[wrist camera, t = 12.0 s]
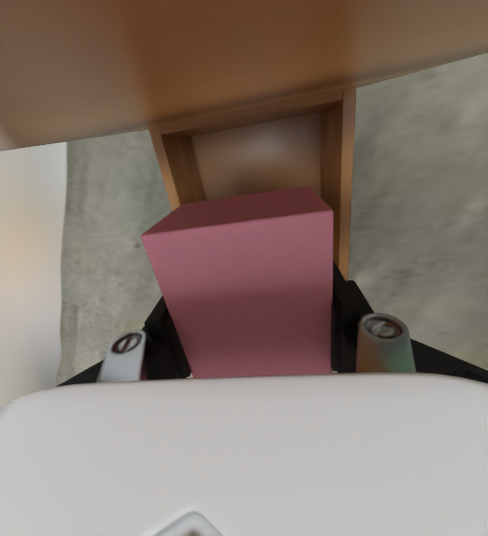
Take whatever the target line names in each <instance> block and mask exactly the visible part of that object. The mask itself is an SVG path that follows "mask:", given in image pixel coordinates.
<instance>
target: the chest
mask: <svg viewBox="0 0 488 536" xmlns="http://www.w3.org/2000/svg"><path fill="white" fill-rule="evenodd" d="M355 104H356V88H354V89H349V90H344V91H339V92H334V93H329V94H324V95H319V96H314V97H309V98H304V99H299V100H294V101H289V102H284V103H279V104H274V105H269V106H264V107H259V108H254V109H249V110H243V111H238V112H233V113H228V114H223V115H218V116H213V117H208V118H203V119H198V120H193V121H188V122H183V123H178V124H173V125H168V126H163V127H158V128H153V129H149V132H150V136H151V139H152V142H153V146H154V149H155V153H156V156H157V159H158V163H159V166H160V170H161V173H162V176H163V180H164V183H165V187H166V190H167V193H168V197H169V200H170V204H171V207H172V210H173V211H174V210H175V209H177V208H178V207H179V206H180V205H182V204H188V203H195V202H201V201H208V200H215V199H222V198H229V197H235V196H242V195H249V194H256V193H263V192H269V191H276V190H283V189H290V188H297V187H303V186H310V187H311V188H312V189H313V190H314V191H315V192H316V193H317V194H318V195H319V196H320V198H321V199H322V200H323V201H324V202H325V203H326V204H327V205H328V206H329V207H330V208H331V209H332V210H333V259H334V261H335V263H336V265H337V266H338V268H339V270H340V272H341V274H342V275H343V277H344V279H345V281H348V261H349V238H350V216H351V194H352V171H353V149H354V127H355Z"/></svg>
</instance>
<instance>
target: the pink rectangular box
mask: <svg viewBox="0 0 488 536" xmlns="http://www.w3.org/2000/svg"><path fill="white" fill-rule="evenodd" d="M141 238H142V241H143V244H144V246H145V249H146V252H147V254H148V257H149V260H150V262H151V265H152V268H153V270H154V273H155V276H156V279H157V281H158V284H159V287H160V289H161V292H162V295H163V297H164V300H165V303H166V305H167V308H168V311H169V313H170V315H171V318H172V321H173V323H174V326H175V329H176V331H177V334H178V337H179V339H180V342H181V345H182V347H183V350H184V353H185V355H186V358H187V361H188V363H189V366H190V369H191V372H192V375H193V377H194V378H211V377H238V376H266V375H298V374H330V373H332V367H331V322H332V291H333V210H332V209H331V208H330V207H329V206H328V205H327V204H326V203H325V202H324V201H323V200H322V199H321V198H320V196H319V195H318V194H317V193H316V192H315V191H314V190H313V189H312V188H311V187H310V186H303V187H297V188H290V189H283V190H276V191H269V192H263V193H256V194H249V195H242V196H235V197H229V198H222V199H215V200H208V201H201V202H195V203H188V204H182V205H180V206H179V207H178V208H177V209H175V210H174V211H173V212H171V213H170V214H169V215H167V216H166V217H165V218H163V219H162V220H161V221H159V222H158V223H157V224H155V225H154V226H153V227H152V228H150V229H149V230H148V231H146V232H145V233H144V234H142V235H141Z"/></svg>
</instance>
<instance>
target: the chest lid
mask: <svg viewBox="0 0 488 536" xmlns="http://www.w3.org/2000/svg"><path fill="white" fill-rule="evenodd" d="M484 53H488V0H0V151H5V150H12V149H19V148H26V147H31V146H39V145H46V144H53V143H60V142H67V141H74V140H81V139H87V138H94V137H101V136H108V135H115V134H122V133H129V132H136V131H142V130H148V129H153V128H158V127H163V126H168V125H173V124H178V123H183V122H188V121H193V120H198V119H203V118H208V117H213V116H218V115H223V114H228V113H233V112H238V111H243V110H249V109H254V108H259V107H264V106H269V105H274V104H279V103H284V102H289V101H294V100H299V99H304V98H309V97H314V96H319V95H324V94H329V93H334V92H339V91H344V90H349V89H354V88H358V87H362V86H366V85H370V84H373V83H377V82H381V81H384V80H388V79H392V78H395V77H399V76H403V75H407V74H410V73H414V72H418V71H421V70H425V69H429V68H432V67H436V66H440V65H444V64H447V63H451V62H455V61H458V60H462V59H466V58H470V57H473V56H477V55H481V54H484Z"/></svg>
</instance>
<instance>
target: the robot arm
mask: <svg viewBox="0 0 488 536" xmlns="http://www.w3.org/2000/svg"><path fill="white" fill-rule="evenodd" d="M144 324H145V326H144V327H143V329H142V330H131V331H128V332H125V333H123V334H121V335H120V336H118V337H117V338H115V339H114V340H113V341H112V342H111V343H110V345H109V347H108V349H107V352H106V355H105V357H104V360H102V361H100V362H99V363H97V364H95V365H93V366H92V367H90V368H88V369H86V370H85V371H83V372H81V373H79V374H78V375H76V376H74V377H72V378H70V379H69V380H67V381H65V382H63V383H62V384H60V385H58V386H56V387H53V388H49V389H45V390H41V391H37V392H34V393H31V394H28V395H26V396H23V397H20V398H17V399H15V400H13V401H11V402H8V403H6V404H5V405H2V406H1V407H0V536H488V371H487V370H485V369H482V368H480V367H478V366H475V365H473V364H470V363H468V362H466V361H463V360H461V359H458V358H456V357H453V356H451V355H449V354H446V353H444V352H441V351H439V350H437V349H434V348H432V347H429V346H427V345H425V344H422V343H420V342H417V341H415V340H412V339H410V336H409V331H408V328H407V326H406V325H405V324H404V323H403V322H402V321H401V320H399V319H398V318H396V317H394V316H391V315H388V314H383V313H374V311H373V310H372V308H371V307H370V305H369V303H368V302H367V300H366V299H365V297H364V295H363V294H362V292H361V291H360V289H359V287H358V286H357V284H356V283H355V281H353V280H350V281H345V279H344V277H343V275H342V274H341V272H340V270H339V268H338V266H337V265H336V263H335V261H334V259H333V291H332V322H331V367H332V370H333V371H338V373H330V374H298V375H266V376H238V377H211V378H186V377H189V376H190V374H191V369H190V366H189V363H188V361H187V358H186V355H185V353H184V350H183V347H182V345H181V342H180V339H179V337H178V334H177V331H176V329H175V326H174V323H173V321H172V318H171V315H170V313H169V311H168V308H167V305H166V303H165V300H164V297H163V296H162V297H161V299H160V300H159V302H158V303H157V305H156V306H155V308H154V309H153V311H152V312H151V314H150V315H149V317H148V318H147V320H146V321H145V323H144Z"/></svg>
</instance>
